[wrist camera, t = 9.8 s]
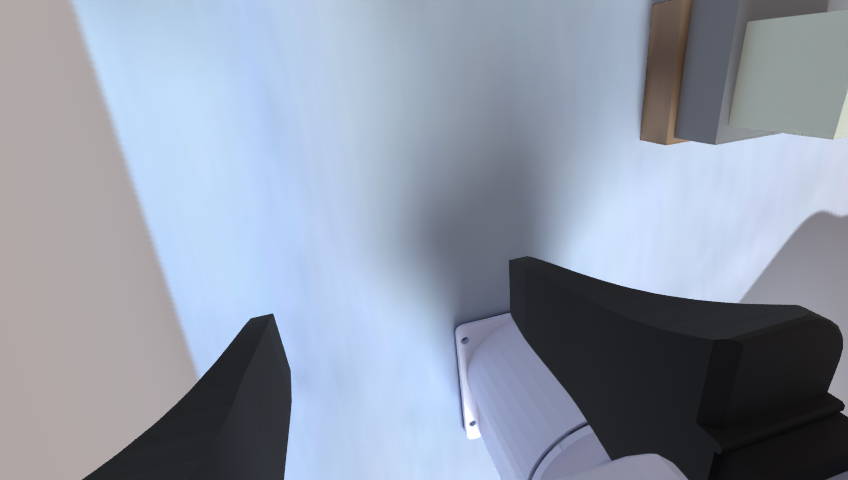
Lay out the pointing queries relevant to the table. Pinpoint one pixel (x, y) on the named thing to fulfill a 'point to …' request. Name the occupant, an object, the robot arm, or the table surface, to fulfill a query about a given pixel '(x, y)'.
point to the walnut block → (665, 71)
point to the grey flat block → (725, 62)
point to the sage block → (794, 76)
